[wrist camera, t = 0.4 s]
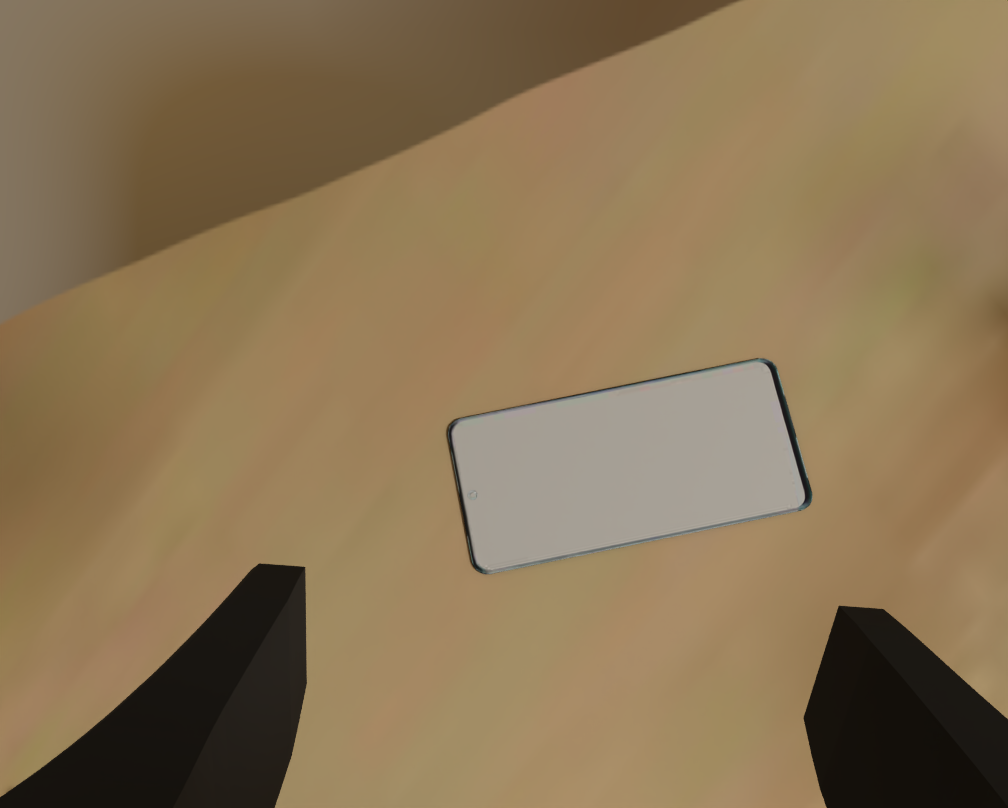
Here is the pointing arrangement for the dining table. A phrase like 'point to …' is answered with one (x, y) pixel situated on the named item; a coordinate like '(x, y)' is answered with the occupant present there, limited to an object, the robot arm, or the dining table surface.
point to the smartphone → (627, 465)
